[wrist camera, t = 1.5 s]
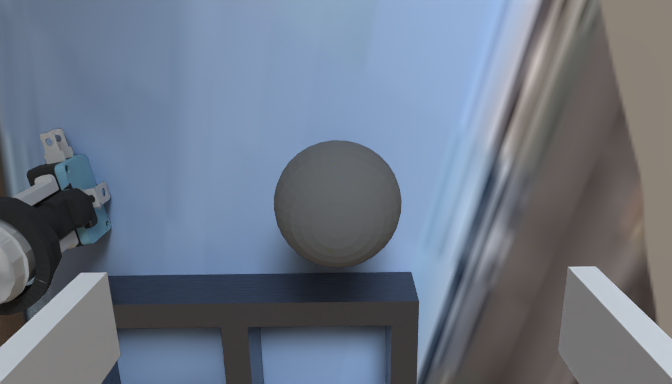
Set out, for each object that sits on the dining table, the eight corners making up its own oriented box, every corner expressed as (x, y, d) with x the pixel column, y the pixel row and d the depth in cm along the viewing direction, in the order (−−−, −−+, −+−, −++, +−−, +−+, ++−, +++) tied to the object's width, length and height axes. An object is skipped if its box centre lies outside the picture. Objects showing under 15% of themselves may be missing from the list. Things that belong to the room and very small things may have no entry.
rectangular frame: (77, 276, 33) (47, 305, 29) (411, 272, 32) (419, 301, 29) (105, 422, 36) (81, 463, 33) (407, 419, 36) (414, 461, 32)
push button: (17, 136, 30) (-135, 189, 20) (106, 118, 30) (-6, 164, 20) (58, 242, 32) (-63, 336, 22) (142, 227, 32) (55, 316, 22)
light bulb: (320, 94, 29) (308, 131, 19) (406, 144, 30) (435, 201, 20) (273, 179, 30) (241, 251, 21) (356, 223, 31) (362, 313, 22)
